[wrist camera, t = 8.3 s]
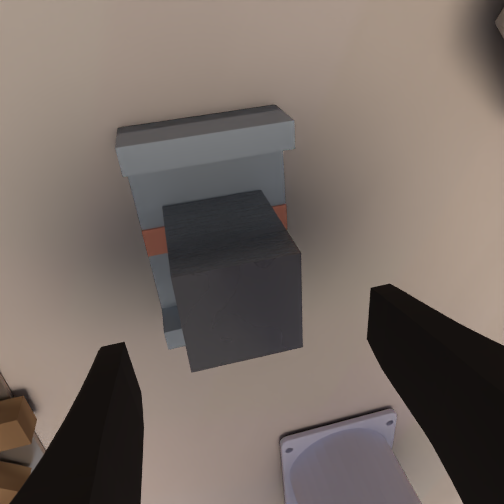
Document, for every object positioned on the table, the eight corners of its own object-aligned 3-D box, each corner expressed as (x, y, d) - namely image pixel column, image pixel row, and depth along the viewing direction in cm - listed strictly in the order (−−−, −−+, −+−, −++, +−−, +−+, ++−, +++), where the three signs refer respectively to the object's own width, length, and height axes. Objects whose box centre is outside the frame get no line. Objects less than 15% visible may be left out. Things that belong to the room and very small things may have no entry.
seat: (285, 289, 21) (300, 319, 19) (165, 314, 21) (168, 349, 19) (274, 104, 17) (294, 120, 15) (117, 127, 16) (115, 148, 14)
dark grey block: (266, 270, 19) (302, 347, 15) (179, 288, 19) (191, 372, 15) (261, 189, 17) (301, 252, 13) (161, 206, 17) (170, 278, 13)
